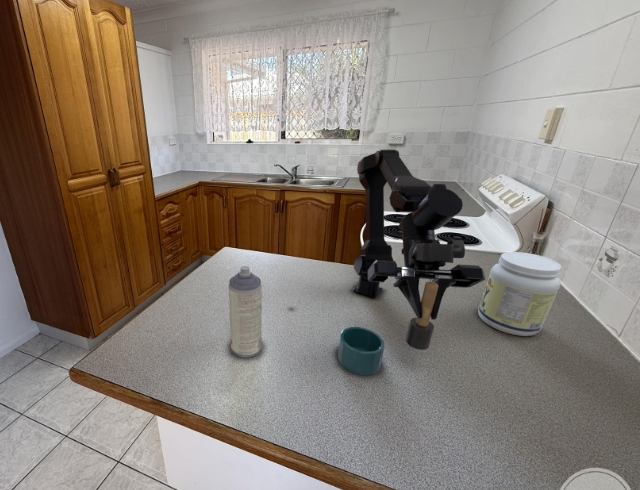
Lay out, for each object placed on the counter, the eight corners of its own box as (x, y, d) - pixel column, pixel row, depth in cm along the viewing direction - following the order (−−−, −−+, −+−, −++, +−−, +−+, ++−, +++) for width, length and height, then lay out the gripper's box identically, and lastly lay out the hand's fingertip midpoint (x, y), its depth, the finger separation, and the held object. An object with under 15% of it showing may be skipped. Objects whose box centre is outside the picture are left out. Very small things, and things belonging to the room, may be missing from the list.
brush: (408, 333, 63) (422, 276, 58) (430, 341, 61) (447, 283, 55) (403, 343, 60) (416, 285, 55) (426, 352, 58) (443, 292, 53)
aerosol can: (255, 335, 74) (255, 259, 66) (265, 354, 68) (266, 272, 60) (228, 340, 72) (224, 263, 65) (234, 360, 66) (232, 277, 59)
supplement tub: (481, 303, 85) (501, 246, 78) (541, 321, 77) (568, 259, 70) (471, 322, 77) (491, 260, 70) (537, 345, 69) (566, 278, 62)
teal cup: (347, 342, 71) (350, 322, 69) (385, 358, 66) (390, 337, 64) (331, 362, 65) (333, 341, 63) (371, 382, 60) (375, 359, 58)
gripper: (380, 219, 56) (385, 305, 51) (496, 223, 53) (515, 315, 47) (365, 244, 66) (368, 317, 61) (462, 248, 63) (474, 326, 58)
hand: (426, 318), depth 56 cm, fingers closed on brush, 2 cm apart
